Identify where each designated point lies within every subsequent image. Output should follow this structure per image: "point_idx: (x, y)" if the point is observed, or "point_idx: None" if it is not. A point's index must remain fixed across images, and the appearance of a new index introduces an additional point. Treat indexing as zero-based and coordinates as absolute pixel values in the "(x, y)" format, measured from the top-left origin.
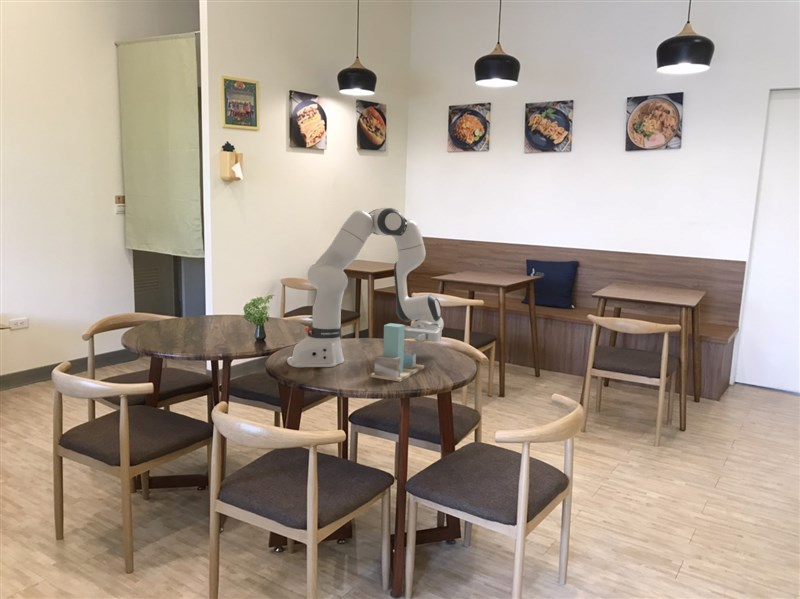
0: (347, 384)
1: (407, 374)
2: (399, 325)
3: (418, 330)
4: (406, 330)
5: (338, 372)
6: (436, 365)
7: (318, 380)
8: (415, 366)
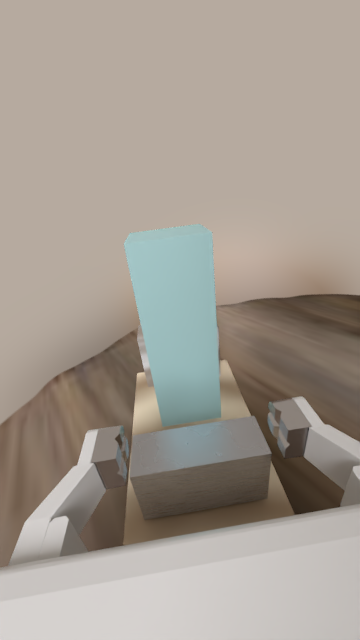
0: (222, 321)
1: (135, 412)
2: (140, 236)
3: (134, 573)
4: (319, 512)
5: (318, 348)
6: None
7: (281, 309)
8: (144, 516)
